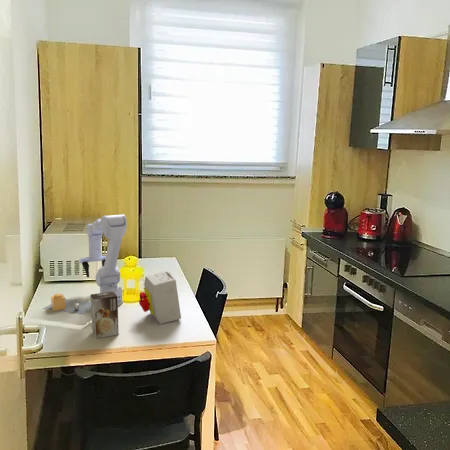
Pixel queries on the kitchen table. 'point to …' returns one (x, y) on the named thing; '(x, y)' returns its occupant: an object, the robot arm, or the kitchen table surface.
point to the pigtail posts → (76, 307)
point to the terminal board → (69, 305)
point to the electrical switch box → (161, 297)
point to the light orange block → (58, 302)
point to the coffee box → (104, 314)
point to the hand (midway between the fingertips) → (95, 275)
